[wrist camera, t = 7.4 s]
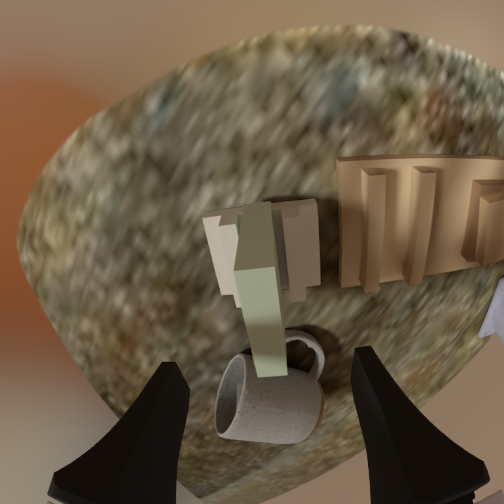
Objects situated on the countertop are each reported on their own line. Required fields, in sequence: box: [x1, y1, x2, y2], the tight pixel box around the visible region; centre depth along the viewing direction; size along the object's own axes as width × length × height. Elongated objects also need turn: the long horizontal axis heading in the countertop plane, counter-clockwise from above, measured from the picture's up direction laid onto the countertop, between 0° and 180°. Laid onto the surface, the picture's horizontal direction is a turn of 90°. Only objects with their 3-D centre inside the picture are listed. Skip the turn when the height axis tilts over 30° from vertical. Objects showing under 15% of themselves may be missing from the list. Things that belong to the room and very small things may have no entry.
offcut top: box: [475, 191, 504, 267], centre depth 15 cm, size 4×5×1 cm
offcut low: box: [461, 179, 504, 262], centre depth 17 cm, size 4×6×1 cm, turn 9°
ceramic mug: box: [215, 329, 325, 444], centre depth 23 cm, size 11×8×8 cm
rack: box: [336, 154, 504, 293], centre depth 17 cm, size 15×9×2 cm, turn 99°
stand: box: [202, 198, 321, 308], centre depth 19 cm, size 7×6×2 cm
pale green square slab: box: [233, 201, 288, 377], centre depth 16 cm, size 2×7×7 cm, turn 9°
